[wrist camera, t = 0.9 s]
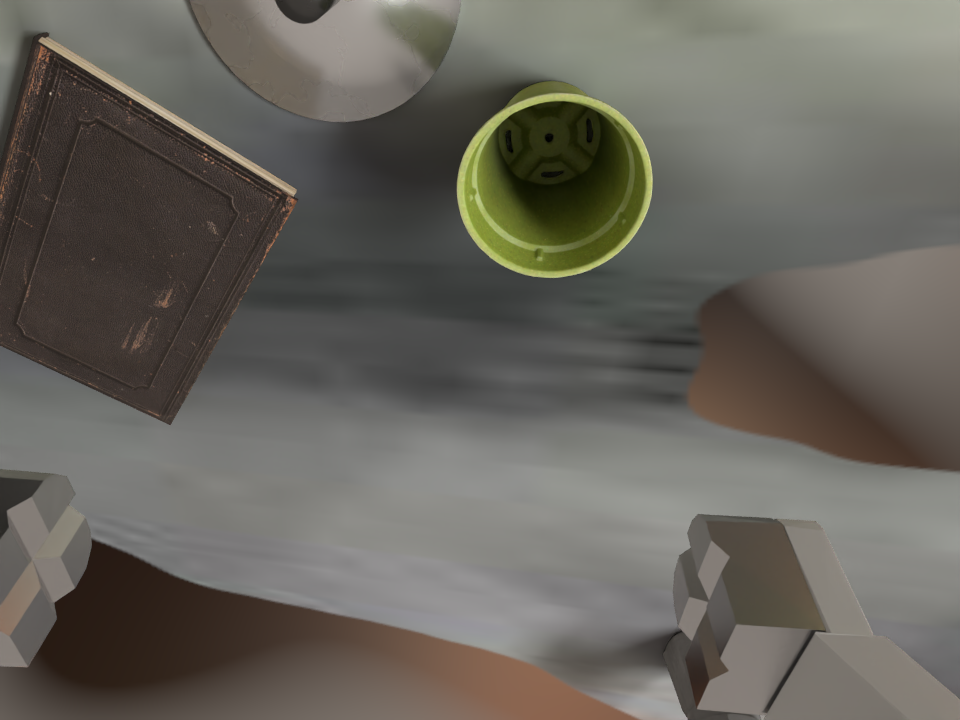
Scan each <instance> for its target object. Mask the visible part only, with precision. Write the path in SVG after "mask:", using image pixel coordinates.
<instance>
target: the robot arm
mask: <svg viewBox="0 0 960 720" xmlns="http://www.w3.org/2000/svg"><path fill="white" fill-rule="evenodd" d="M74 496H75V492H74V490H73V488H72V486H71V484H70V481H69V479H68V477H67V476H63V475H58V474H50V473H39V472H28V471H17V470H6V469H0V666H11V667H28V666H29V665H30V663H31V661H32V660H33V658H34V656H35V654H36V653H37V651H38V649H39V648H40V646H41V644H42V643H43V641H44V639H45V638H46V636H47V634H48V633H49V631H50V629H51V628H52V626H53V624H54V623H55V621H56V619H57V617H56V612H55V606H54V602H56V601H57V600H58V599H60V598H61V597H63V596H64V595H65V594H67V593H69V592H70V591H71V590H73V589H74V588H75V587H76V585H77V584H78V582H79V580H80V578H81V577H82V575H83V573H84V571H85V569H86V566H87V562H88V558H89V555H90V551H91V547H92V545H91V531H90V528H89V525H88V523H87V520H86V518H85V517H84V516H83V515H82V514H80V513H79V512H78V511H76V510H75V509H74V508H72V507H71V506H70V505H69V503H70V502H71V500H72V499H73V497H74ZM687 534H688V538H689V542H690V546H691V548H690V549H688V550H687V551H685V552H684V553H682V554H681V555H679V558H678V562H677V565H676V568H675V572H674V584H673V598H674V609H675V614H676V619H677V624H678V627H679V628H680V629H681V630H682V631H683V632H684V633H685V634H686V636H687V637H688V638H689V639H690V640H691V641H692V643H691V645H690V648H689V650H688V653H687V655H686V658H685V660H686V665H687V669H688V674H689V678H690V683H691V687H692V691H693V696H694V700H695V705H696V709H700V710H711V711H722V712H733V713H744V714H755V715H766V716H765V718H764V720H960V699H959V698H957V697H956V696H955V695H954V694H953V693H952V692H950V691H949V690H948V689H947V688H946V687H945V686H943V685H942V684H941V683H940V682H939V681H938V680H936V679H935V678H934V677H933V676H932V675H931V674H929V673H928V672H927V671H926V670H925V669H924V668H922V667H921V666H920V665H919V664H918V663H917V662H915V661H914V660H913V659H912V658H911V657H910V656H908V655H907V654H906V653H905V652H904V651H903V650H902V649H900V648H899V647H898V646H897V645H896V644H895V643H893V642H892V641H891V640H890V639H889V638H888V637H885V636H875V635H874V634H873V632H872V630H871V628H870V626H869V624H868V622H867V620H866V617H865V615H864V613H863V611H862V609H861V607H860V605H859V603H858V601H857V599H856V596H855V594H854V592H853V590H852V588H851V586H850V584H849V582H848V580H847V578H846V575H845V573H844V571H843V569H842V567H841V565H840V563H839V561H838V559H837V557H836V554H835V552H834V550H833V548H832V546H831V544H830V542H829V540H828V538H827V536H826V533H825V531H824V529H823V528H822V527H821V526H820V525H819V524H818V523H817V522H816V521H805V520H789V519H772V518H761V517H742V516H723V515H704V514H698V515H697V516H696V517H695V518H694V519H693V520H692V522H691V524H690V527H689V530H688V533H687Z"/></svg>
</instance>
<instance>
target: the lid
mask: <svg viewBox="0 0 960 720" xmlns="http://www.w3.org/2000/svg"><path fill="white" fill-rule="evenodd" d="M189 1H190V4H191V7H192V9H193V12H194V14H195V16H196V18H197V20H198V22H199V25H200V27H201V29H202V30H203V32H204V34H205V35H206V37H207V39H208V41H209V42H210V44H211V45H212V47H213V48H214V50H215V51H216V52H217V54H218V55H219V56H220V58H221V59H222V60H223V62H224V63H225V64H226V65H227V66H228V67H229V68H230V69H231V70H232V72H233V73H234V74H235V75H236V76H237V77H238V78H239V79H241V80H242V81H243V82H244V83H245V84H246V85H247V86H248V87H249V88H251V89H252V90H254V91H255V92H256V93H258V94H259V95H260V96H262V97H263V98H265V99H266V100H268V101H270V102H272V103H273V104H275V105H277V106H279V107H280V108H283V109H285V110H288V111H290V112H292V113H295V114H297V115H301V116H304V117H308V118H311V119H316V120H322V121H329V122H350V121H359V120H364V119H368V118H372V117H376V116H379V115H381V114H384V113H386V112H389V111H391V110H393V109H395V108H396V107H398V106H400V105H401V104H403V103H405V102H406V101H407V100H409V99H410V98H411V97H412V96H414V95H415V94H416V93H417V92H419V91H420V90H421V88H422V87H423V86H424V85H425V84H426V83H427V82H428V81H429V80H430V79H431V77H432V76H433V74H434V73H435V72H436V70H437V69H438V67H439V66H440V64H441V62H442V60H443V58H444V57H445V55H446V53H447V51H448V49H449V46H450V43H451V41H452V38H453V35H454V33H455V30H456V26H457V21H458V17H459V13H460V6H461V0H189Z"/></svg>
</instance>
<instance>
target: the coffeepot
mask: <svg viewBox="0 0 960 720" xmlns="http://www.w3.org/2000/svg"><path fill="white" fill-rule="evenodd" d="M691 643H692V641H691V640H690V639H689V638H688V637H687V636H686V634H685V633H684V632H683V631H682V632H680V633H678V634H676V635H675V636H674V637H672V638H671V640H670V641H669V642H668V644H667V646H666V650H665V651H664V653H663V656H664V659H665V662H666V665H667V668H668V671H669V673H670V676H671V679H672V682H673V685H674V688H675V690H676V693H677V696H678V699H679V702H680V705H681V708H682V710H683V712H684V714H685V715H686V717H687V718H688V720H761V717H760V715H755V714H744V713H733V712H722V711H711V710H700V709H696V705H695V700H694V696H693V691H692V687H691V683H690V678H689V674H688V669H687V665H686V660H685V658H686V655H687V653H688V650H689V648H690V645H691Z"/></svg>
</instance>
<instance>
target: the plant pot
mask: <svg viewBox="0 0 960 720" xmlns="http://www.w3.org/2000/svg"><path fill="white" fill-rule="evenodd" d="M587 119H589V120H591V121H592V131H593V139H592V141H591V142H589V143H588V142H587V124H586V120H587ZM508 130H511V143H512V147H513V152H510V151H508V149H507V145H506V139H505V136H506V135H505V133H507V131H508ZM548 133H550V134H552V135H553V140H552V141H551V142H547V141H546V140H545V136H546V134H548ZM556 171H559V172H560V171H564V172H563V173H562V174H561V175H559V176H556V177H552V178H546V177H543V176H541V173H542V172H556ZM651 194H652V167H651V162H650V158H649V155H648V152H647V149H646V147H645V144H644V142H643V140H642V138H641V137H640V135H639V133H638V132H637V131H636V129H635V128H634V127H633V125H632V124H631V123H630V122H629V121H628V120H627V119H626V118H625V117H624V116H623V115H622V114H621V113H620V112H618V111H617V110H616V109H614V108H613V107H611V106H610V105H608V104H606V103H604V102H602V101H600V100H598V99H595V98H592V97H589V96H588V95H587V94H585V93H584V92H583V91H581V90H580V89H578V88H577V87H575V86H573V85H570V84H567V83H563V82H557V81H545V82H540V83H536V84H533V85H531V86H528V87H526V88H524V89H523V90H521V91H520V92H518V93H517V94H516V95H515V96H514V97H513V98H512V99H511V100H510V101H509V102H508V104H507V105H506V106H505V108H504V109H502V110H501V111H499V112H498V113H496V114H495V115H494V116H493V117H491V118H490V119H489V120H488V121H487V122H486V123H485V124H484V125H483V126H482V127H481V128H480V129H479V130H478V131H477V133H476V134H475V135H474V137H473V138H472V140H471V141H470V143H469V145H468V147H467V149H466V151H465V153H464V155H463V158H462V161H461V164H460V167H459V171H458V178H457V199H458V206H459V210H460V214H461V217H462V220H463V223H464V225H465V227H466V229H467V231H468V232H469V234H470V236H471V237H472V239H473V240H474V241H475V243H476V244H477V245H478V246H479V247H480V248H481V249H482V250H483V251H484V252H485V253H486V254H487V255H488V256H489V257H490V258H492V259H493V260H495V261H496V262H498V263H499V264H501V265H503V266H505V267H506V268H508V269H511V270H513V271H515V272H518V273H521V274H525V275H530V276H535V277H545V278H557V277H564V276H570V275H575V274H579V273H582V272H585V271H588V270H590V269H592V268H594V267H597V266H599V265H600V264H602V263H604V262H606V261H608V260H609V259H611V258H612V257H613V256H615V255H616V254H617V253H618V252H620V251H621V250H622V249H623V248H624V247H625V246H626V245H627V244H628V243H629V242H630V240H631V239H632V238H633V236H634V235H635V234H636V232H637V230H638V229H639V227H640V225H641V224H642V222H643V220H644V218H645V215H646V213H647V210H648V208H649V204H650V200H651Z"/></svg>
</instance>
